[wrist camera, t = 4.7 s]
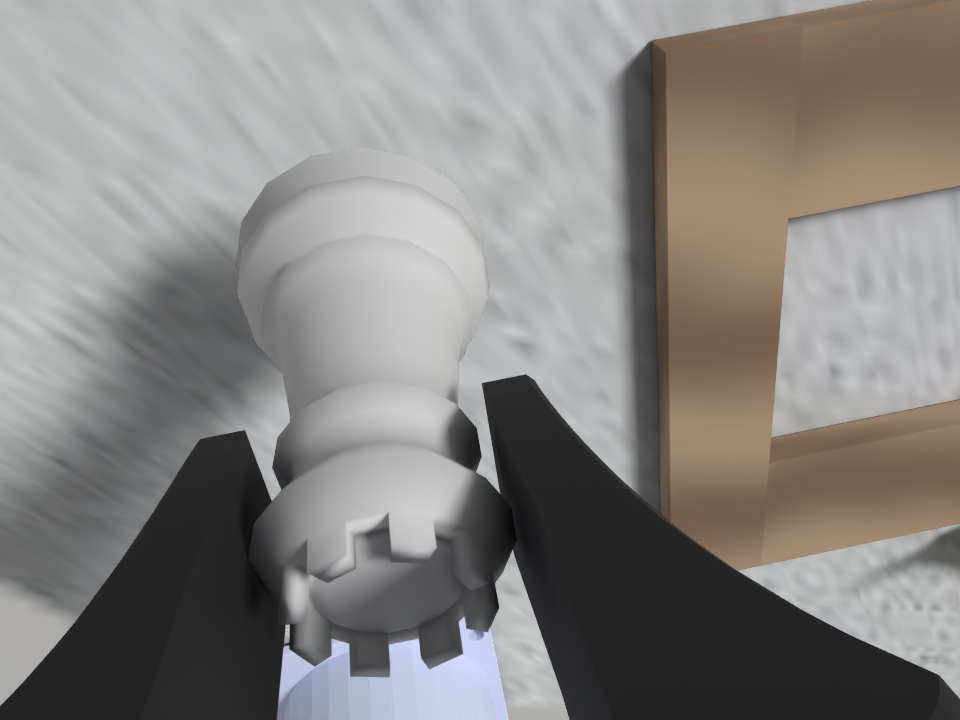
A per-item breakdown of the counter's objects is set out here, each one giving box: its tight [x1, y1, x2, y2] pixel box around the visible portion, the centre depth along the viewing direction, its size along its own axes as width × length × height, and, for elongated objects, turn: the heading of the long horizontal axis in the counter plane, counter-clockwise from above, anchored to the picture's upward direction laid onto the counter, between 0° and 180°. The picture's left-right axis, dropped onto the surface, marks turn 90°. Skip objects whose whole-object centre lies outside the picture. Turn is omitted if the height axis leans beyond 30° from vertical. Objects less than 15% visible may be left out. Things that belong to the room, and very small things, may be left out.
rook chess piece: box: [236, 147, 517, 677], centre depth 13 cm, size 4×4×8 cm
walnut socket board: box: [651, 0, 960, 570], centre depth 24 cm, size 17×14×1 cm
